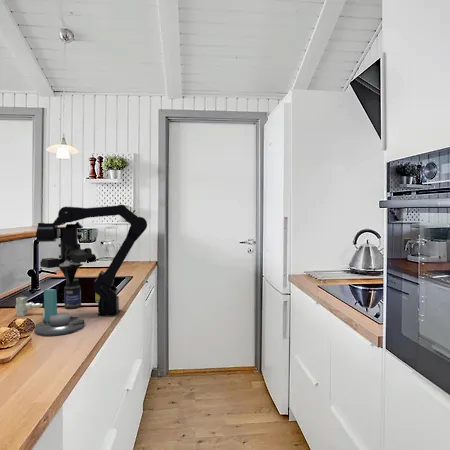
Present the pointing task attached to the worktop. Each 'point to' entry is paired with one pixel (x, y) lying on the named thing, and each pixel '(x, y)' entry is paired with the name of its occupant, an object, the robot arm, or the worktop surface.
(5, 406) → the worktop surface
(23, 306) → the valve
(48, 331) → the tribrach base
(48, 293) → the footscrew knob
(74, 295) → the pill bottle
